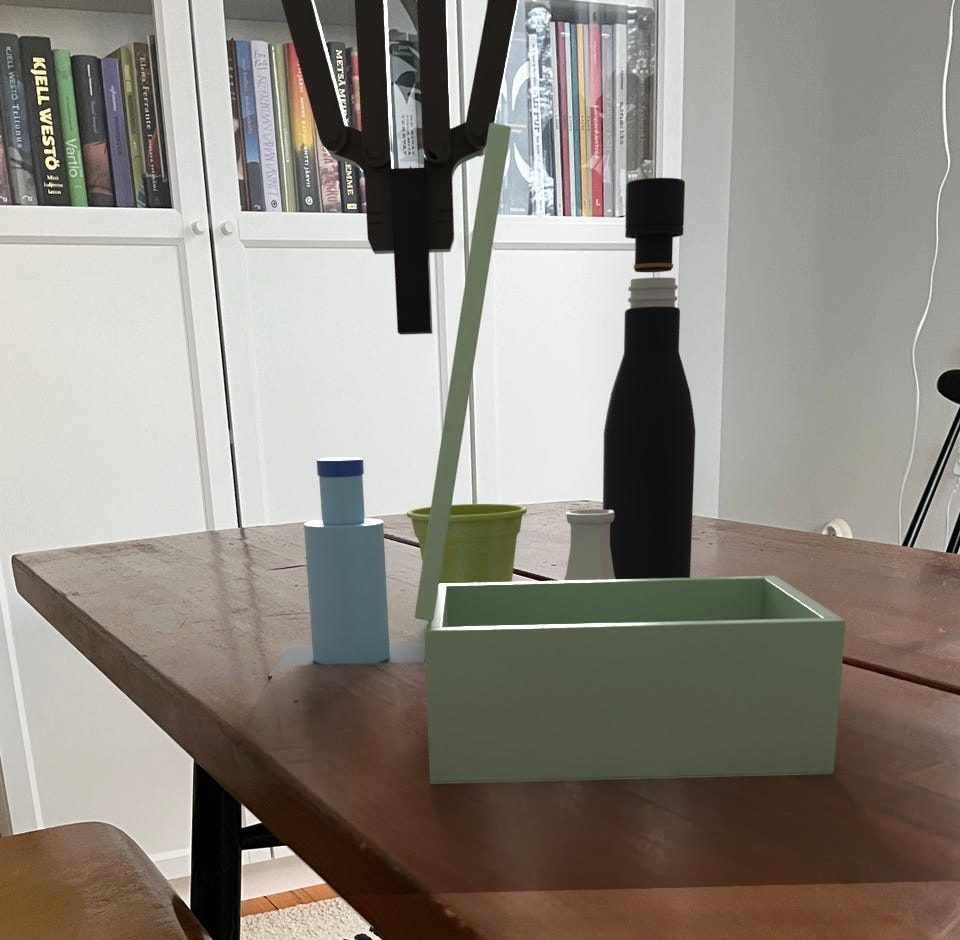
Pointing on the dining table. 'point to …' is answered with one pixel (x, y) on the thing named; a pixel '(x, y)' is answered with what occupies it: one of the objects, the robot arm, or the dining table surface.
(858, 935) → the dining table surface
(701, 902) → the dining table surface
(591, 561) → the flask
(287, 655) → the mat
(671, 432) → the black bottle
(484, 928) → the dining table surface
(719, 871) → the dining table surface
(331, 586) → the water bottle
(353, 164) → the robot arm
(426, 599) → the lid
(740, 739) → the cool chest
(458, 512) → the plant pot
